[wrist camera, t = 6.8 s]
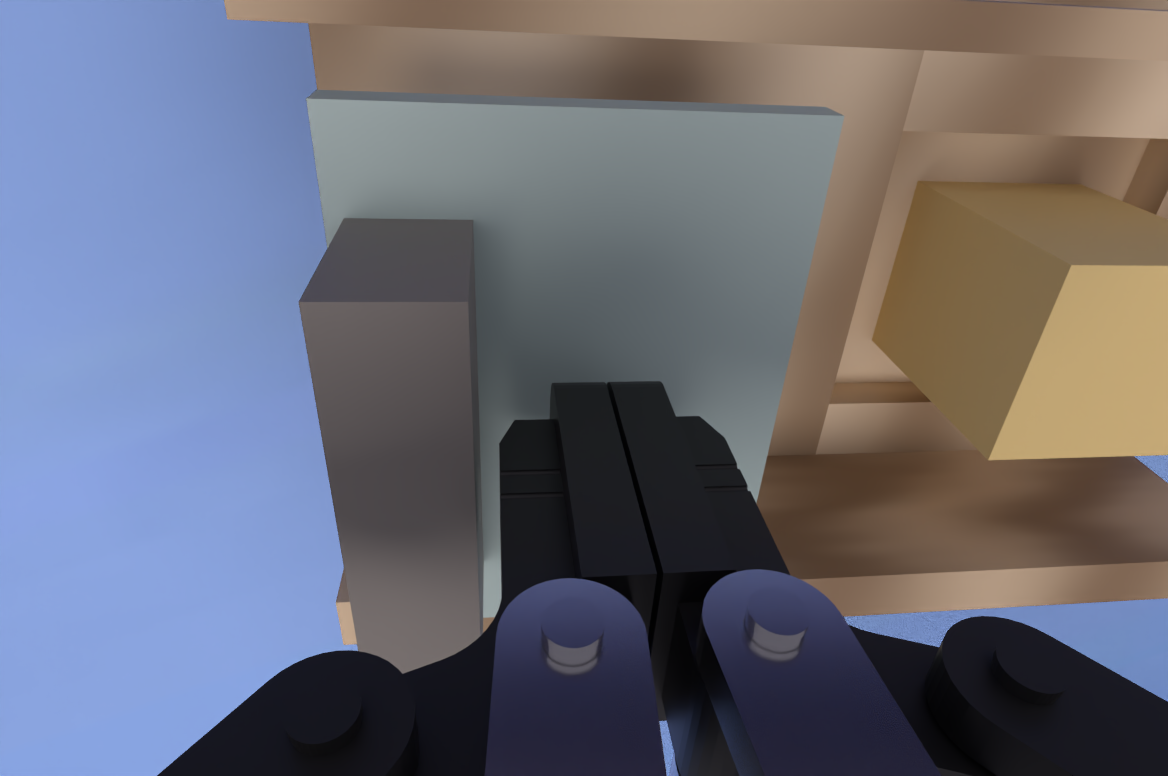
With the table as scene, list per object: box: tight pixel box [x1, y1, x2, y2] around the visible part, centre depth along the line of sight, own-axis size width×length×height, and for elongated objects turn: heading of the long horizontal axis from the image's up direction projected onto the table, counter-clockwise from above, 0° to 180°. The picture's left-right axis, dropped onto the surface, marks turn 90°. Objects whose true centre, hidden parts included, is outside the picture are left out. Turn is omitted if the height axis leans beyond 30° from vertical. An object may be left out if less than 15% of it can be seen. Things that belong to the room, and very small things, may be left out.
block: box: [872, 181, 1168, 460], centre depth 15 cm, size 4×4×5 cm
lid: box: [299, 90, 844, 674], centre depth 10 cm, size 6×9×3 cm
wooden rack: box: [224, 0, 1168, 645], centre depth 15 cm, size 20×12×6 cm, turn 87°
